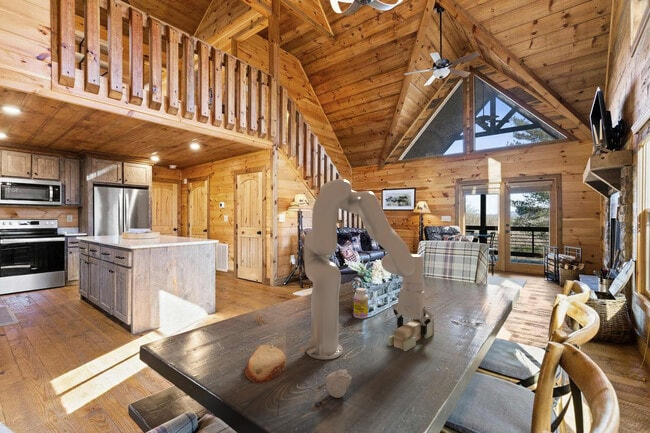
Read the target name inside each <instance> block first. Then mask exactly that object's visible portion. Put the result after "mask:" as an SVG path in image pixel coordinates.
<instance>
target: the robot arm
mask: <svg viewBox="0 0 650 433" xmlns="http://www.w3.org/2000/svg"><path fill="white" fill-rule="evenodd" d="M312 207H313V208H312V215H311V229H310V230H309V231H308V232H307V233H306V235H305V237H304V240H303V241H304V244H303V251H304V252H303V254H304V255H303V256H304V258H303V259H304V272H305V275H306V277H307V278H308V279H309V281H310V282H312V289H311V294H310V295H311V298H310V339H309V340H308V343H307V344H306V345H304V346H301V347H300V348H299V351H300V353H301V354H305V353H307V355H308V356H309V357H311V358H312V359H318V360H333V359H337V358H338V357H339V356H342V355H343V352H344V351H343V350H344V347H343V346H342V345H341V344H339V315H340V314H339V313H340V312H339V306H340V305H339V303H340V302H339V301H340V300H339V299H340V298H339V297H340V287H341V283H342V282H341V281H342V274H341V271H340V268H339V267H338V266H337V264H336V263H334V262H333V261H331V260H330V256H332V255H334V254H335V252H336V251H337V248H338V231H337V230H338V229H337V227H338V226H337V225H338V224H337V221H338V220H337V217H338V212H339V210H342V211H345V212H348V213H349V214H350V213H351V214H354V215H358V216H359V218H360V220H361V222H362V224H363V226H364V228H365V230H366V232H367V235H368V236H369V237H370V238H371V239H372V240H373V241H374V242H375V243H377V244H378V245H379V246H380V247H382V248H383V249H384V250H385V251H386V253H387V254H385V255H384V256H383V257H382V258H381V260H380V261H381V267H382V268H383V270H384V271H385V272H388V273H390V274H392V275H395V276H398V277H400V278H402V281H400V282H399V285H400V286H401V288H400V289H399V292H398V298H397V299H398V300H397V302H396V303H393V304H391V307H392V310H393V311H392V312H393V314H394V315H395V317H396V326H397V328H396V329H398V328H400V327H401V326H403V325H404V317H405V318H409V319H411V318H412V319H416V320H420V322H421V323H422V325H421V331H420V335H421V337H424V335H426V333H427V324H428V323H430V322H431V321H432V319H433V318H434V319H435V313H433V312H432V311H430V310H429V309H427V301H426V294H425V291H424V261H425V260H424V257H423V256H422V255H421V254H417V253H411V251H410V249H409V247H408V246H407V244H406V242H405V241H404V240H403V239H402V237H401V236H399V234H398V233H397V231H396V230H395V229H394V228H393V227H392V226H391V225H390V222H389V220H388V218H387V216H386V214H385V211H384V209H383V208H382V205H381V203H380V200H379V199H378V197H377V196H376V194H375V193H374V192H373V191H370V190H363V191H356V190H353V187H352V184H351V182H349V181H348V180H347V179H344V178H337V179H333V180H331V181H327V182H325V183H323V184H322V186H321V187H320V190H319V194H318V195H317V197H316V199H315V201H314V203H313V206H312ZM426 314H427V315H428V316H429V317H428V319H426Z"/></svg>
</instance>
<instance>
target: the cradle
mask: <svg viewBox="0 0 650 433" xmlns="http://www.w3.org/2000/svg"><path fill="white" fill-rule="evenodd" d="M387 340H388V341H387V345H388V346H390V347H391V346H394V333H393V334H391V335H389V336H388V337H387ZM416 345H417V341H416V337H412V338H410V339H408V340H406V341H404V342H403V349H402V351H404V352H407V351H409V350H411V349H412V348H414V347H416Z"/></svg>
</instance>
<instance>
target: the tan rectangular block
mask: <svg viewBox="0 0 650 433" xmlns="http://www.w3.org/2000/svg"><path fill="white" fill-rule="evenodd" d="M420 331H421V323H419V322H415V321H411V320H410V321H409V322H408V323H406V324H403V326H401V327H400V328H396V329H394V330H393V334H394V344H393V347H395V348H397V349H400V350H403V342H404V341H406V340H408V339H410V338H412V337H416V342H417V341H419V340H420V339H421V338H422V336H421V335H420Z"/></svg>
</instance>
